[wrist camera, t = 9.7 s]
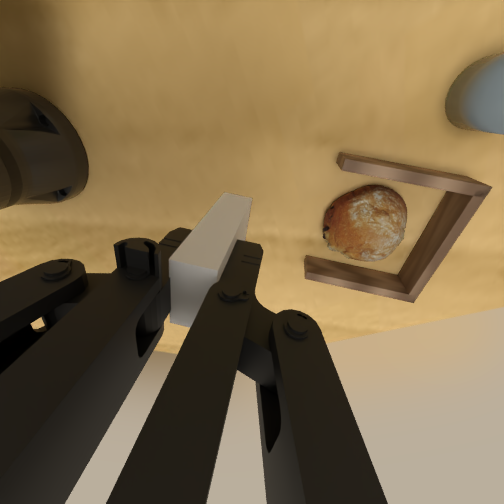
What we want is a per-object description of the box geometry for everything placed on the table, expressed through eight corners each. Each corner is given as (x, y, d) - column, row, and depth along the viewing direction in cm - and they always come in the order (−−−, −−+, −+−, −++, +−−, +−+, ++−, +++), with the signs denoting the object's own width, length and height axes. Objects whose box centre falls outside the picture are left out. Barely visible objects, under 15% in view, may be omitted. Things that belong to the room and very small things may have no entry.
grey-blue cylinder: (432, 123, 27) (466, 127, 22) (468, 50, 24) (519, 33, 18) (492, 134, 27) (542, 141, 21) (537, 61, 23) (610, 47, 18)
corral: (304, 261, 39) (304, 278, 35) (339, 152, 30) (345, 158, 26) (402, 283, 38) (413, 302, 34) (467, 176, 29) (492, 187, 25)
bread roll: (379, 236, 39) (424, 257, 31) (321, 259, 37) (354, 287, 30) (377, 173, 34) (429, 181, 27) (310, 197, 33) (346, 212, 26)
